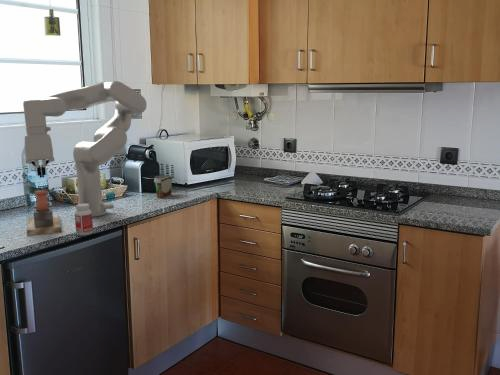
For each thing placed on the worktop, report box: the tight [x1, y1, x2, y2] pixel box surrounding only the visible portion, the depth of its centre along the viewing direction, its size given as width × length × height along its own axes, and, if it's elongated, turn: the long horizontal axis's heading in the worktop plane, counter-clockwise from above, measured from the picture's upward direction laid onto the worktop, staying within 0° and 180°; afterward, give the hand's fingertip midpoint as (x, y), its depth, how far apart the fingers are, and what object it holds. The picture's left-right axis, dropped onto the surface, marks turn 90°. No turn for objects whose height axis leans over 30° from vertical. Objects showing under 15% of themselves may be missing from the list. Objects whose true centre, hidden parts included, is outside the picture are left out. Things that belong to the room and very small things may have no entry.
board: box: [26, 201, 63, 236], centre depth 210 cm, size 12×22×8 cm, turn 21°
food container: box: [153, 174, 173, 200], centre depth 266 cm, size 12×6×10 cm, turn 161°
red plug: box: [34, 189, 48, 212], centre depth 203 cm, size 4×4×9 cm
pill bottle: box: [74, 203, 94, 236], centre depth 198 cm, size 6×6×11 cm
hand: (42, 177), depth 212 cm, fingers closed
